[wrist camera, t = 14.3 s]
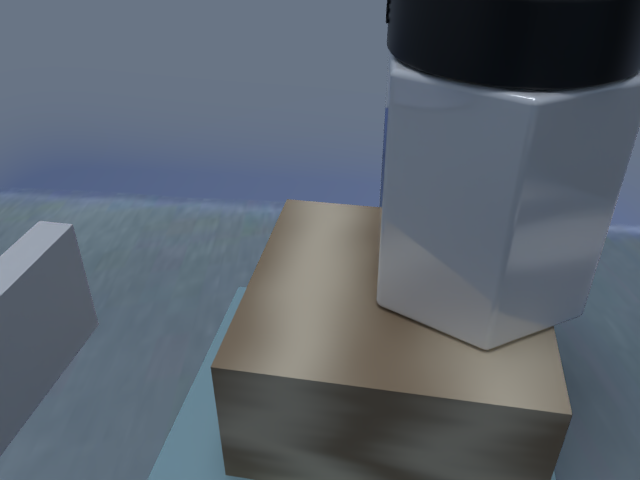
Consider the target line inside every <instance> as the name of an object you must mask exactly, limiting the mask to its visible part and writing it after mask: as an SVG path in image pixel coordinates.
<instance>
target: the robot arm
mask: <svg viewBox="0 0 640 480" xmlns="http://www.w3.org/2000/svg"><path fill="white" fill-rule="evenodd" d="M98 325H99V323H98V319H97V316H96V312H95V308H94V304H93V300H92V296H91V293H90V289H89V285H88V281H87V277H86V273H85V270H84V266H83V262H82V258H81V254H80V250H79V246H78V243H77V239H76V235H75V231H74V227H73V224H64V223H55V222H46V221H39V222H38V223H37V224H35V225H34V226H33V227H32V228H31V229H30V230H29V231H28V232H27V233H25V234H24V235H23V236H22V237H21V238H20V239H19V240H18V241H17V242H16V243H14V244H13V245H12V246H11V247H10V248H9V249H8V250H7V251H6V252H4V253H3V254H2V255H1V256H0V456H1V455H2V453H3V452H4V451H5V449H6V448H7V447H8V445H9V444H10V443H11V441H12V440H13V439H14V437H15V436H16V435H17V433H18V432H19V431H20V429H21V428H22V427H23V425H24V424H25V423H26V421H27V420H28V419H29V417H30V416H31V415H32V413H33V412H34V411H35V409H36V408H37V407H38V405H39V404H40V403H41V401H42V400H43V399H44V397H45V396H46V395H47V393H48V392H49V391H50V389H51V388H52V387H53V385H54V384H55V383H56V381H57V380H58V379H59V377H60V376H61V374H62V373H63V372H64V370H65V369H66V368H67V366H68V365H69V364H70V362H71V361H72V360H73V358H74V357H75V356H76V354H77V353H78V352H79V350H80V349H81V348H82V346H83V345H84V344H85V342H86V341H87V340H88V338H89V337H90V336H91V334H92V333H93V332H94V330H95V329H96V328H97V326H98Z"/></svg>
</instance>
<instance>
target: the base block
mask: <svg viewBox="0 0 640 480" xmlns="http://www.w3.org/2000/svg"><path fill="white" fill-rule="evenodd" d="M378 222H379V207H369V206H357V205H346V204H334V203H323V202H311V201H299V200H289V199H287V201H286V203H285V205H284V207H283V209H282V212H281V214H280V216H279V218H278V220H277V222H276V225H275V227H274V229H273V231H272V233H271V236H270V238H269V240H268V242H267V244H266V247H265V249H264V251H263V253H262V255H261V258H260V260H259V262H258V264H257V266H256V269H255V271H254V273H253V275H252V277H251V279H250V282H249V284H248V286H247V288H246V290H245V293H244V295H243V297H242V299H241V301H240V304H239V306H238V308H237V310H236V312H235V315H234V317H233V319H232V321H231V323H230V325H229V328H228V330H227V332H226V334H225V336H224V339H223V341H222V343H221V345H220V347H219V350H218V352H217V354H216V356H215V358H214V361H213V363H212V365H211V374H212V381H213V388H214V396H215V403H216V410H217V417H218V424H219V431H220V439H221V446H222V453H223V460H224V467H225V475H228V476H234V477H241V478H247V479H253V480H551V478H552V475H553V472H554V469H555V466H556V463H557V460H558V457H559V454H560V451H561V448H562V445H563V442H564V439H565V435H566V432H567V429H568V426H569V423H570V420H571V417H572V411H571V406H570V401H569V397H568V392H567V387H566V382H565V378H564V373H563V368H562V364H561V359H560V354H559V349H558V345H557V340H556V335H555V331H554V326H552V327H549V328H547V329H544V330H541V331H538V332H536V333H533V334H530V335H528V336H525V337H522V338H519V339H517V340H514V341H511V342H508V343H506V344H503V345H500V346H497V347H495V348H492V349H489V350H484V349H481V348H478V347H476V346H474V345H471V344H469V343H467V342H464V341H462V340H460V339H457V338H455V337H452V336H450V335H448V334H445V333H443V332H441V331H438V330H436V329H433V328H431V327H429V326H426V325H424V324H422V323H419V322H417V321H415V320H412V319H410V318H407V317H405V316H403V315H400V314H398V313H396V312H393V311H391V310H388V309H386V308H384V307H381V306H380V305H379V304H378V303H377V300H376V293H377V239H378Z"/></svg>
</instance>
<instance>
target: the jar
mask: <svg viewBox="0 0 640 480" xmlns="http://www.w3.org/2000/svg"><path fill="white" fill-rule="evenodd" d="M386 23H388V34H387V46H388V49H389V54H388V72H387V88H386V104H385V121H384V140H383V155H382V172H381V189H380V205H379V222H378V239H377V293H376V300H377V303H378V304H379V305H380V306H381V307H384V308H386V309H388V310H391V311H393V312H396V313H398V314H400V315H403V316H405V317H407V318H410V319H412V320H415V321H417V322H419V323H422V324H424V325H426V326H429V327H431V328H433V329H436V330H438V331H441V332H443V333H445V334H448V335H450V336H452V337H455V338H457V339H460V340H462V341H464V342H467V343H469V344H471V345H474V346H476V347H478V348H481V349H484V350H489V349H492V348H495V347H497V346H500V345H503V344H506V343H508V342H511V341H514V340H517V339H519V338H522V337H525V336H528V335H530V334H533V333H536V332H538V331H541V330H544V329H547V328H549V327H552V326H555V325H558V324H560V323H563V322H566V321H569V320H571V319H574V318H577V317H579V316H581V315H582V313H583V311H584V308H585V304H586V301H587V298H588V294H589V291H590V288H591V285H592V281H593V278H594V275H595V271H596V268H597V265H598V262H599V258H600V255H601V252H602V248H603V245H604V242H605V239H606V235H607V232H608V229H609V225H610V222H611V219H612V215H613V212H614V209H615V206H616V202H617V199H618V196H619V192H620V189H621V186H622V182H623V179H624V176H625V173H626V170H627V166H628V163H629V160H630V157H631V153H632V150H633V147H634V143H635V140H636V137H637V134H638V130H639V127H640V0H387V9H386Z"/></svg>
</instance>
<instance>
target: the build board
mask: <svg viewBox="0 0 640 480" xmlns="http://www.w3.org/2000/svg"><path fill="white" fill-rule="evenodd" d="M245 290H246V287H239V288H238V290H237V292H236V294H235V296H234V298H233V300H232V302H231V305H230V307H229V309H228V311H227V313H226V315H225V317H224V319H223V321H222V323H221V326H220V328H219V330H218V332H217V334H216V336H215V338H214V340H213V342H212V345H211V347H210V349H209V351H208V353H207V355H206V357H205V359H204V361H203V364H202V366H201V368H200V370H199V372H198V374H197V376H196V378H195V380H194V382H193V385H192V387H191V389H190V391H189V393H188V395H187V397H186V399H185V401H184V404H183V406H182V408H181V410H180V412H179V414H178V416H177V418H176V420H175V423H174V425H173V427H172V429H171V431H170V433H169V435H168V437H167V439H166V442H165V444H164V446H163V448H162V450H161V452H160V454H159V456H158V458H157V460H156V463H155V465H154V467H153V469H152V471H151V473H150V475H149V477H148V479H147V480H253V479H247V478H241V477H234V476H228V475H225V467H224V460H223V453H222V446H221V439H220V431H219V424H218V417H217V410H216V403H215V396H214V388H213V381H212V374H211V365H212V363H213V361H214V358H215V356H216V354H217V352H218V350H219V347H220V345H221V343H222V341H223V339H224V336H225V334H226V332H227V330H228V328H229V325H230V323H231V321H232V319H233V317H234V315H235V312H236V310H237V308H238V306H239V304H240V301H241V299H242V297H243V295H244V293H245ZM551 480H556V477H555V471H554V472H553V475H552V478H551Z"/></svg>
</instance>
